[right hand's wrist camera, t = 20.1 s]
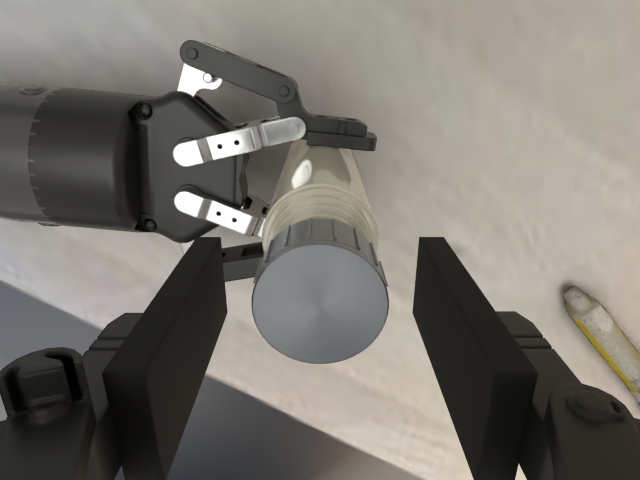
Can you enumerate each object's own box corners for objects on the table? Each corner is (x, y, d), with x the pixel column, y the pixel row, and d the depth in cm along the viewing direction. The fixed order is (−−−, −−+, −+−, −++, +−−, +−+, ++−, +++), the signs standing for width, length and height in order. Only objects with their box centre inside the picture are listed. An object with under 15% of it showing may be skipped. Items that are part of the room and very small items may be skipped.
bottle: (307, 201, 32) (290, 380, 14) (276, 146, 31) (213, 268, 13) (363, 172, 32) (420, 324, 14) (333, 114, 30) (355, 196, 12)
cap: (235, 252, 14) (221, 284, 12) (344, 193, 14) (348, 216, 12) (298, 343, 16) (295, 385, 14) (401, 293, 15) (414, 329, 13)
